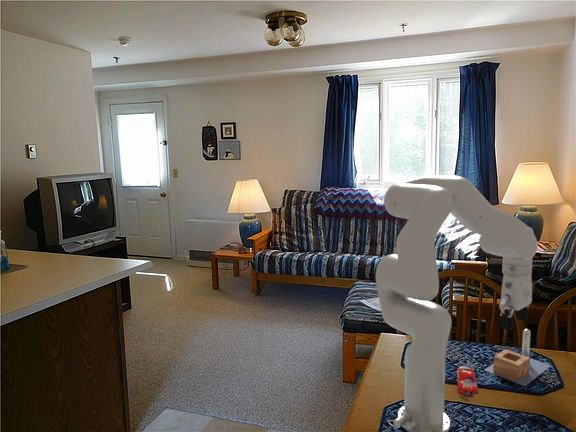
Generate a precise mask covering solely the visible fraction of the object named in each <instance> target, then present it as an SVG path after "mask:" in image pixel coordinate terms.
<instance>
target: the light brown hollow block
mask: <svg viewBox="0 0 576 432" xmlns="http://www.w3.org/2000/svg"><path fill="white" fill-rule="evenodd" d="M529 363H530V356H529V357H527V356H524V355H522V353H518V352H514V351H512V350H509V349H506V348H505V349H503V350H502V351H500V352H498V353H497V354H496V355H494V356H493V363H492V364H493V372H494V373H497V374H500V375H502V376H505V377H507V378H510V379H512V380H515V381H519V380H521V379H522V378H523V377H525V376H526V375H527V374H528V373H529Z"/></svg>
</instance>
